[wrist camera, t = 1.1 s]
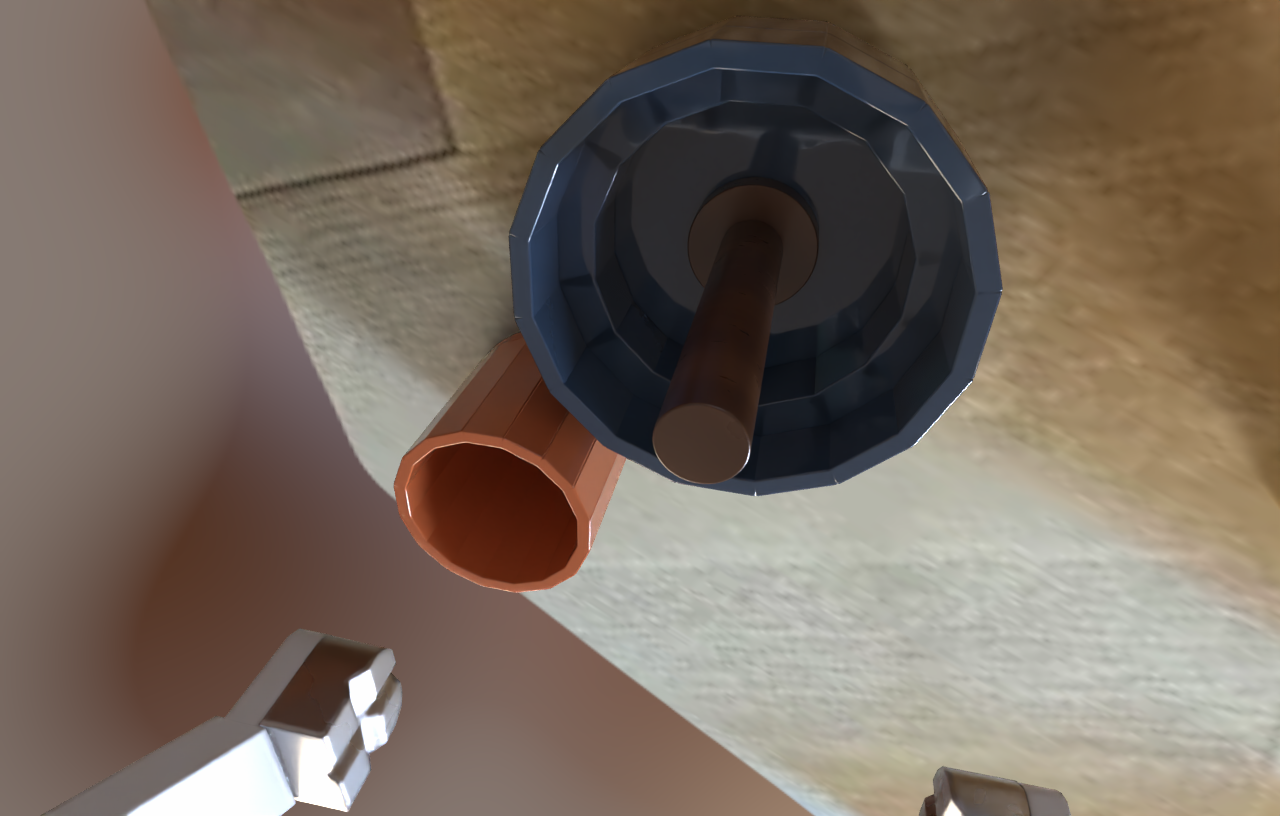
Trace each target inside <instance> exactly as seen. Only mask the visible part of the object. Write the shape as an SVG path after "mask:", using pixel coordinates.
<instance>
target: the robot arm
mask: <svg viewBox="0 0 1280 816" xmlns="http://www.w3.org/2000/svg"><path fill="white" fill-rule="evenodd" d="M395 664H396V662H395V658H394V655H393V651H392V649H388V648H384V647H379V646H375V645H370V644H366V643H361V642H357V641H352V640H348V639H344V638H339V637H335V636H332V635H328V634H323V633H318V632H313V631H309V630H304V629H298V630H297V631H295V632H294V633H292V634H291V635H290V636H288V637H287V638H286V640H285V641H284V642H283V644H282V645H281V646H280V647H279V649H278V650H277V651H276V653H275V654H274V655H273V656H272V658H271V659H270V660H269V661H268V663H267V664H266V666H265V667H264V668H263V669H262V671H261V672H260V673H259V674H258V676H257V677H256V678H255V679H254V681H253V682H252V683H251V685H250V686H249V687H248V689H247V690H246V691H245V692H244V694H243V695H242V696H241V697H240V699H239V700H238V701H237V703H236V704H235V705H234V706H233V708H232V709H231V710H230V712H229V713H228V714H227V715H226V717H225V718H224V717H219V716H215V717H213V718H211V719H210V720H208V721H206V722H205V723H203V724H201V725H199V726H197V727H196V728H194V729H192V730H191V731H189V732H187V733H185V734H183V735H181V736H180V737H178V738H176V739H175V740H173V741H171V742H169V743H167V744H166V745H164V746H162V747H160V748H159V749H157V750H155V751H153V752H152V753H150V754H148V755H146V756H145V757H143V758H141V759H139V760H137V761H136V762H134V763H132V764H130V765H129V766H127V767H125V768H123V769H122V770H120V771H118V772H116V773H115V774H113V775H111V776H109V777H108V778H106V779H104V780H102V781H101V782H99V783H97V784H95V785H94V786H92V787H90V788H88V789H86V790H85V791H83V792H81V793H79V794H78V795H76V796H74V797H73V798H70V799H69V800H67V801H65V802H63V803H62V804H60V805H58V806H56V807H55V808H53V809H51V810H49V811H48V812H46V813H44V814H42V815H41V816H281V815H282V814H283V813H285V812H286V811H287V810H288V809H290V808H291V807H292V806H293V805H295V803H296V802H295V800H298V801H303V802H307V803H312V804H316V805H321V806H325V807H330V808H334V809H339V810H343V811H348V810H349V809H350V807H351V805H352V803H353V801H354V800H355V798H356V796H357V794H358V793H359V791H360V789H361V787H362V785H363V783H364V782H365V780H366V778H367V776H368V775H369V772H370V771H371V764H370V756H369V754H370V753H371V752H373V751H375V750H376V749H378V748H379V747H380V746H382V745H384V744H385V743H386V742H387V740H388V738H389V736H390V734H391V733H392V731H393V729H394V727H395V725H396V722H397V718H398V715H399V712H400V709H401V705H402V688H401V684H400V681H399V680H398V679H397V678H396V677H395V676H394V675H393V674H392V673H391V671H392V669H393V667H394V666H395ZM933 786H934V794H933V795H931V796H929V797H926V798H925V799H924V802H923V804H922V807H921V810H920V812H919V816H1071V814H1070V810H1069V806H1068V803H1067V801H1066V799H1065V798H1064V796H1063V795H1062V793H1061V792H1059V791H1057V790H1054V789H1049V788H1044V787H1039V786H1034V785H1029V784H1024V783H1018V782H1017V781H1014V780H1009V779H1004V778H999V777H994V776H989V775H984V774H979V773H974V772H969V771H964V770H958V769H953V768H948V767H941V768H939V769H938V770H937V772H936V774H935V776H934V779H933Z"/></svg>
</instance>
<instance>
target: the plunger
mask: <svg viewBox="0 0 1280 816" xmlns="http://www.w3.org/2000/svg"><path fill="white" fill-rule="evenodd" d="M818 249H819V231H818V225H817V221H816V218H815V215H814V213H813V211H812V209H811V208H810V206H809V205H808V203H807V202H806V200H805V199H804V198H803V197H802V196H801V195H800V194H799V193H798V192H796V191H795V190H794V189H792V188H791V187H789V186H788V185H786V184H784V183H782V182H779V181H776V180H773V179H769V178H763V177H748V178H742V179H737V180H734V181H732V182H729V183H727V184H725V185H723V186H721V187H720V188H718V189H717V190H715V191H714V192H713V193H712V194H711V195H710V196H709V197H708V198H707V199H706V200H705V201H704V202H703V204H702V205H701V207H700V208H699V210H698V212H697V214H696V216H695V218H694V220H693V223H692V225H691V228H690V231H689V235H688V258H689V262H690V265H691V268H692V270H693V273H694V275H695V276H696V278H697V280H698V281H699V282H700V284H701V285H702V286H703V287H704V291H703V294H702V297H701V299H700V302H699V305H698V308H697V311H696V313H695V316H694V319H693V322H692V324H691V327H690V330H689V333H688V335H687V338H686V341H685V344H684V347H683V349H682V352H681V355H680V358H679V360H678V363H677V366H676V369H675V371H674V374H673V377H672V380H671V382H670V385H669V388H668V391H667V394H666V396H665V399H664V402H663V405H662V407H661V410H660V413H659V416H658V418H657V421H656V424H655V427H654V430H653V436H652V441H653V447H654V450H655V453H656V455H657V457H658V459H659V460H660V462H661V463H662V464H663V465H664V467H665V468H666V469H668V470H669V471H670V472H671V473H673V474H674V475H676V476H677V477H679V478H681V479H684V480H686V481H689V482H693V483H698V484H715V483H720V482H723V481H726V480H728V479H730V478H732V477H734V476H735V475H737V474H738V473H739V472H740V471H741V470H742V469H743V468H744V467H745V465H746V463H747V462H748V459H749V457H750V452H751V446H752V440H753V434H754V428H755V422H756V415H757V409H758V403H759V397H760V391H761V385H762V379H763V373H764V366H765V360H766V354H767V348H768V342H769V336H770V330H771V323H772V317H773V311H774V305H777V304H780V303H782V302H784V301H786V300H787V299H789V298H791V297H792V296H794V295H795V294H796V293H797V292H798V291H799V290H800V289H801V288H802V287H803V286H804V285H805V284H806V282H807V281H808V280H809V278H810V276H811V275H812V273H813V270H814V268H815V265H816V262H817V257H818Z"/></svg>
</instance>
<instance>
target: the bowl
mask: <svg viewBox="0 0 1280 816" xmlns="http://www.w3.org/2000/svg"><path fill="white" fill-rule="evenodd" d="M748 177H763V178H769V179H773V180H776V181H779V182H782V183H784V184H786V185H788V186H789V187H791V188H792V189H794V190H795V191H796V192H798V193H799V194H800V195H801V196H802V197H803V198H804V199H805V200H806V202H807V203H808V205H809V206H810V208H811V209H812V211H813V213H814V215H815V218H816V221H817V225H818V231H819V249H818V257H817V262H816V265H815V268H814V270H813V273H812V275H811V276H810V278H809V280H808V281H807V282H806V284H805V285H804V286H803V287H802V288H801V289H800V290H799V291H798V292H797V293H796V294H795V295H794V296H792V297H791V298H789V299H787V300H786V301H784V302H782V303H780V304H777V305H774V311H773V317H772V323H771V330H770V336H769V342H768V348H767V354H766V360H765V366H764V373H763V379H762V385H761V391H760V397H759V403H758V409H757V415H756V422H755V428H754V434H753V440H752V446H751V452H750V457H749V459H748V462H747V463H746V465H745V467H744V468H743V469H742V470H741V471H740V472H739V473H738V474H737V475H735V476H734V477H732V478H730V479H728V480H726V481H723V482H720V483H715V484H698V483H693V482H689V481H686V480H684V479H681V478H679V477H677V476H676V475H674V474H673V473H671V472H670V471H669V470H668V469H666V468H665V467H664V465H663V464H662V463H661V462H660V460H659V459H658V457H657V455H656V453H655V450H654V447H653V441H652V436H653V430H654V427H655V424H656V421H657V418H658V416H659V413H660V410H661V407H662V405H663V402H664V399H665V396H666V394H667V391H668V388H669V385H670V382H671V380H672V377H673V374H674V371H675V369H676V366H677V363H678V360H679V358H680V355H681V352H682V349H683V347H684V344H685V341H686V338H687V335H688V333H689V330H690V327H691V324H692V322H693V319H694V316H695V313H696V311H697V308H698V305H699V302H700V299H701V297H702V294H703V291H704V287H703V286H702V285H701V284H700V282H699V281H698V280H697V278H696V276H695V275H694V273H693V270H692V268H691V265H690V262H689V258H688V235H689V231H690V228H691V225H692V223H693V220H694V218H695V216H696V214H697V212H698V210H699V208H700V207H701V205H702V204H703V202H704V201H705V200H706V199H707V198H708V197H709V196H710V195H711V194H712V193H713V192H714V191H715V190H717V189H718V188H720V187H721V186H723V185H725V184H727V183H729V182H732V181H734V180H737V179H742V178H748ZM509 249H510V264H511V279H512V293H513V308H514V317H515V321H516V323H517V326H518V328H519V330H520V332H521V334H522V336H523V338H524V340H525V342H526V344H527V347H528V349H529V351H530V353H531V355H532V357H533V359H534V361H535V363H536V365H537V368H538V370H539V372H540V374H541V376H542V378H543V380H544V382H545V384H546V387H547V389H548V390H549V392H550V393H551V394H552V395H553V396H554V397H555V398H556V399H557V400H558V401H559V402H560V403H561V404H562V405H563V406H564V407H565V408H566V409H567V410H568V411H569V412H570V413H571V414H572V415H573V416H574V417H575V418H576V419H577V420H578V421H579V422H580V423H581V424H582V425H583V426H584V427H585V428H586V429H587V430H588V431H589V432H590V433H591V434H592V435H593V436H594V437H595V438H596V439H597V440H598V441H599V442H600V443H601V444H602V445H603V446H604V447H606V448H607V449H609V450H611V451H613V452H615V453H617V454H619V455H621V456H623V457H625V458H627V459H629V460H631V461H633V462H635V463H637V464H639V465H641V466H643V467H645V468H647V469H649V470H651V471H653V472H655V473H657V474H659V475H661V476H663V477H665V478H667V479H668V480H670V481H672V482H674V483H676V482H677V483H678V484H684V485H690V486H696V487H702V488H708V489H714V490H720V491H726V492H732V493H738V494H744V495H750V496H755V495H756V496H762V495H769V494H776V493H783V492H790V491H797V490H804V489H810V488H817V487H824V486H831V485H836V484H837V483H838V484H840V483H842V482H844V481H846V480H848V479H850V478H852V477H854V476H856V475H858V474H860V473H862V472H864V471H866V470H868V469H870V468H872V467H874V466H876V465H878V464H880V463H881V462H883V461H885V460H887V459H889V458H891V457H893V456H895V455H897V454H899V453H901V452H903V451H905V450H907V449H909V448H911V447H912V446H913V445H916V443H917V442H918V441H919V440H920V439H921V438H922V437H923V436H924V435H925V433H926V432H927V431H928V430H929V429H930V428H931V427H932V426H933V425H934V423H935V422H936V421H937V420H938V419H939V418H940V417H941V416H942V415H943V413H944V412H945V411H946V410H947V409H948V408H949V407H950V406H951V404H952V403H953V402H954V401H955V400H956V399H957V398H958V397H959V396H960V394H961V393H962V392H963V391H964V390H965V389H966V388H967V387H968V386H969V384H970V383H971V382H972V381H973V378H974V377H975V374H976V370H977V367H978V364H979V361H980V358H981V355H982V352H983V349H984V346H985V343H986V340H987V337H988V334H989V331H990V328H991V325H992V322H993V319H994V316H995V313H996V310H997V307H998V304H999V301H1000V298H1001V295H1002V289H1003V287H1002V280H1001V272H1000V265H999V258H998V251H997V243H996V236H995V229H994V222H993V215H992V207H991V200H990V194H989V192H988V190H987V187H986V185H985V183H984V182H983V180H982V178H981V176H980V175H979V173H978V171H977V169H976V167H975V166H974V164H973V162H972V161H971V159H970V157H969V155H968V153H967V152H966V150H965V148H964V146H963V145H962V143H961V141H960V139H959V138H958V136H957V135H956V133H955V132H954V130H953V129H952V127H951V126H950V125H949V123H948V122H947V120H946V119H945V117H944V116H943V114H942V113H941V111H940V110H939V109H938V107H937V106H936V104H935V103H934V101H933V100H932V98H931V97H930V96H929V94H928V93H927V91H926V90H925V88H924V87H923V85H922V84H921V83H920V81H919V80H918V78H917V77H916V75H915V74H914V72H913V71H912V70H911V69H910V68H909V67H908V66H907V65H906V64H904V63H902V62H901V61H899V60H897V59H895V58H893V57H892V56H890V55H888V54H886V53H884V52H883V51H881V50H879V49H877V48H875V47H874V46H872V45H870V44H868V43H866V42H865V41H863V40H861V39H859V38H857V37H856V36H854V35H852V34H850V33H848V32H847V31H845V30H843V29H841V28H839V27H838V26H836V25H834V24H832V23H828V22H827V21H816V20H800V19H784V18H767V17H751V16H735V17H730V18H728V19H725V20H723V21H720V22H717V23H715V24H712V25H710V26H707V27H705V28H702V29H699V30H697V31H694V32H692V33H689V34H687V35H684V36H682V37H679V38H676V39H674V40H671V41H669V42H666V43H664V44H661V45H658V46H656V47H653V48H652V49H650V50H649V51H647V52H646V53H644V54H643V55H642V56H640V57H639V58H637V59H636V60H634V61H632V62H631V63H629V64H628V65H627V66H625V67H624V68H622V69H621V70H619V71H618V72H616V73H615V74H613V75H612V76H610V77H609V78H608V79H606V80H605V81H604V82H603V83H602V84H601V85H600V86H599V87H598V88H597V89H596V90H595V91H594V92H593V94H592V95H591V96H590V97H589V98H588V99H587V100H586V101H585V102H584V103H583V104H582V105H581V106H580V107H579V108H578V109H577V110H576V111H575V112H574V113H573V114H572V115H571V116H570V117H569V118H568V119H567V120H566V121H565V122H564V123H563V124H562V125H561V126H560V127H559V128H558V129H557V130H556V131H555V133H554V134H553V135H552V136H551V137H550V138H549V139H548V140H547V141H546V142H545V143H544V144H543V145H542V146H541V147H540V150H539V151H538V152H537V155H536V158H535V161H534V164H533V166H532V169H531V172H530V175H529V178H528V180H527V183H526V186H525V189H524V192H523V194H522V197H521V200H520V203H519V206H518V208H517V211H516V214H515V217H514V220H513V222H512V225H511V228H510V231H509Z"/></svg>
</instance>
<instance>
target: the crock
mask: <svg viewBox="0 0 1280 816" xmlns="http://www.w3.org/2000/svg"><path fill="white" fill-rule="evenodd" d="M625 461H626V458H625V457H623V456H621V455H619V454H617V453H615V452H613V451H611V450H609V449H607V448H606V447H604V446H603V445H602V444H601V443H600V442H599V441H598V440H597V439H596V438H595V437H594V436H593V435H592V434H591V433H590V432H589V431H588V430H587V429H586V428H585V427H584V426H583V425H582V424H581V423H580V422H579V421H578V420H577V419H576V418H575V417H574V416H573V415H572V414H571V413H570V412H569V411H568V410H567V409H566V408H565V407H564V406H563V405H562V404H561V403H560V402H559V401H558V400H557V399H556V398H555V397H554V396H553V395H552V394H551V393H550V392H549V390H548V389H547V387H546V384H545V382H544V380H543V378H542V376H541V374H540V372H539V370H538V368H537V365H536V363H535V361H534V359H533V357H532V355H531V353H530V351H529V349H528V347H527V344H526V342H525V340H524V338H523V336H522V334H521V332H520V333H517V334H514V335H512V336H510V337H508V338H506V339H504V340H503V341H501V342H500V343H498V344H497V345H496V346H495V347H494V348H493V349H492V350H491V351H490V352H489V354H488V355H487V356H486V357H485V358H484V359H483V360H481V361H480V362H479V364H478V365H477V366H476V367H475V369H474V370H473V371H472V372H471V374H470V375H469V376H468V377H467V378H466V380H465V381H464V382H463V383H462V385H461V386H460V387H459V388H458V390H457V391H456V392H455V393H454V394H453V396H452V397H451V398H450V399H449V401H448V402H447V403H446V404H445V406H444V407H443V408H442V409H441V410H440V412H439V413H438V414H437V415H436V417H435V418H434V419H433V420H432V422H431V423H430V424H429V425H428V426H427V428H426V429H425V430H424V431H423V433H422V434H421V435H420V436H419V438H418V439H417V440H416V441H415V442H414V444H413V445H412V446H411V447H410V449H409V450H408V451H407V452H406V454H405V455H404V456H403V458H402V460H401V463H400V466H399V469H398V472H397V475H396V478H395V481H394V491H395V496H396V501H397V506H398V511H399V515H400V517H401V519H402V520H403V522H404V524H405V525H406V527H407V528H408V530H409V531H410V533H411V535H412V536H413V538H414V539H415V541H416V542H417V544H419V546H420V547H421V548H423V549H424V550H425V551H426V552H427V553H428V554H429V555H431V556H432V557H433V558H434V559H435V560H437V561H438V562H439V563H440V564H441V565H442V566H444V567H445V568H447V569H448V570H449V571H452V572H454V573H456V574H458V575H460V576H462V577H464V578H466V579H468V580H470V581H472V582H474V583H476V584H478V585H481V586H485V587H491V588H495V589H501V590H505V591H511V592H517V593H518V592H527V591H536V590H545V589H550V588H552V587H554V586H556V585H558V584H559V583H561V582H563V581H565V580H567V579H568V578H570V577H572V576H574V575H575V574H576V573H577V572H578V570H579V568H580V567H581V565H582V563H583V562H584V560H585V558H586V557H587V555H588V553H589V552H590V550H591V547H592V545H593V542H594V540H595V537H596V534H597V532H598V529H599V527H600V524H601V522H602V519H603V517H604V514H605V511H606V509H607V506H608V504H609V501H610V499H611V496H612V494H613V491H614V489H615V486H616V483H617V481H618V478H619V476H620V473H621V471H622V468H623V466H624V463H625Z"/></svg>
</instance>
